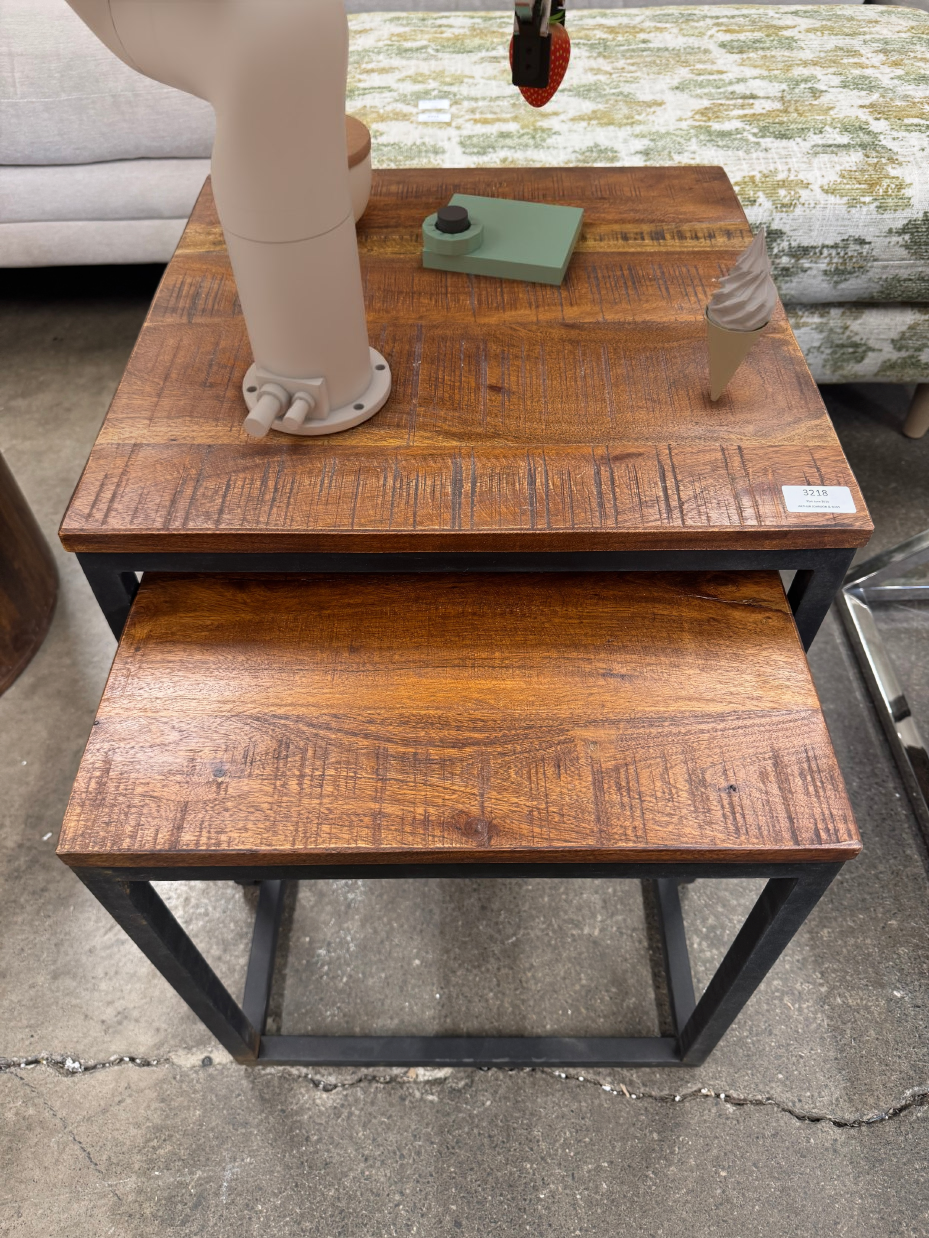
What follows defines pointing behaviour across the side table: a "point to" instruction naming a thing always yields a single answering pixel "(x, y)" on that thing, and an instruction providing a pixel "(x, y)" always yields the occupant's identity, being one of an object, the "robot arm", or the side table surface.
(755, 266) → the ice cream cone
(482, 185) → the side table surface
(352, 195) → the lidded bowl
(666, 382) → the side table surface
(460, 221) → the button
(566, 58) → the fruit
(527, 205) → the scale
